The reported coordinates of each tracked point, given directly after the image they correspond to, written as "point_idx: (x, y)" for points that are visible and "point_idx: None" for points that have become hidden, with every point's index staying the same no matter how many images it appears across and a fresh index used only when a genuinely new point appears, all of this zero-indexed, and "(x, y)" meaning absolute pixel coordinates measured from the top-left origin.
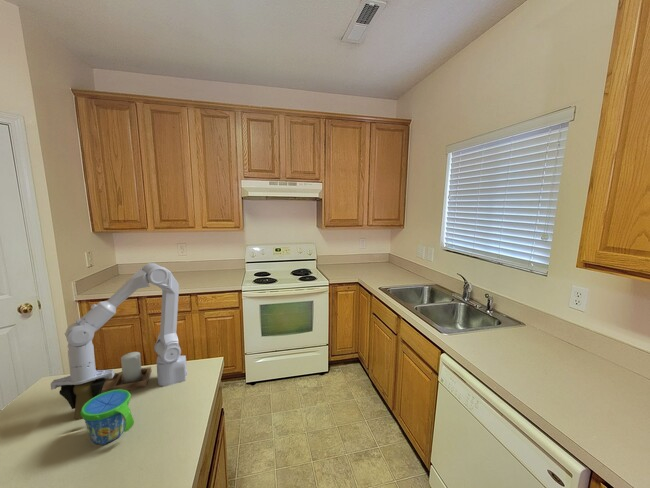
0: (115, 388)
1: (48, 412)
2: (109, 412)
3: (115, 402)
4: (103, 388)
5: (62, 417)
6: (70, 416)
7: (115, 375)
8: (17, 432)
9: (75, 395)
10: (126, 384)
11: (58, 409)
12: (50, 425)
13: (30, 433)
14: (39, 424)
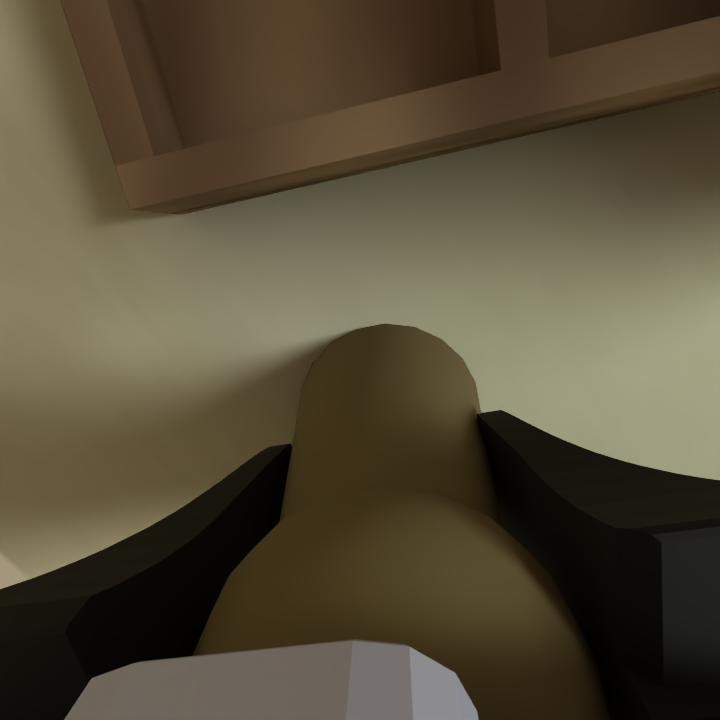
0: (560, 112)
1: (20, 310)
2: None
3: None
4: (398, 102)
5: (198, 403)
6: (256, 404)
7: None
8: (3, 499)
9: (252, 537)
10: (716, 44)
11: (74, 282)
12: (177, 477)
13: (104, 527)
14: (83, 449)
